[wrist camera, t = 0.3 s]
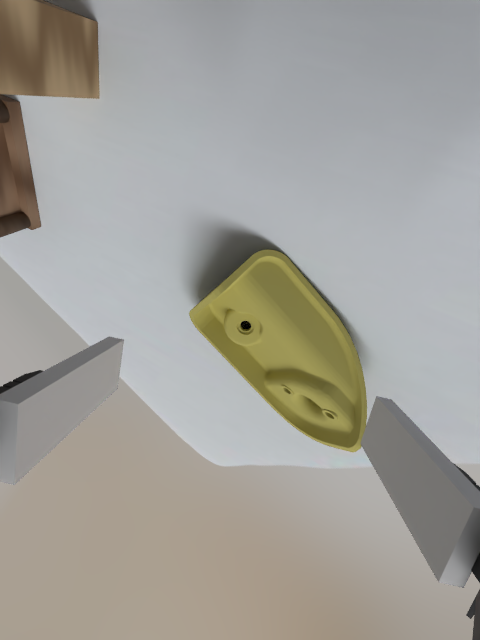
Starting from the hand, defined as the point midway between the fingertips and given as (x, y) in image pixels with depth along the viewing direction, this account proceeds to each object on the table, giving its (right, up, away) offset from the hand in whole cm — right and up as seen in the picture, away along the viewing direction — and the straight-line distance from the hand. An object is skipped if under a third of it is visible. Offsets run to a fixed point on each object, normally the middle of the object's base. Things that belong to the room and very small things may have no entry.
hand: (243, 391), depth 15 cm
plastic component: (+5, +2, +17) cm, 18 cm away
